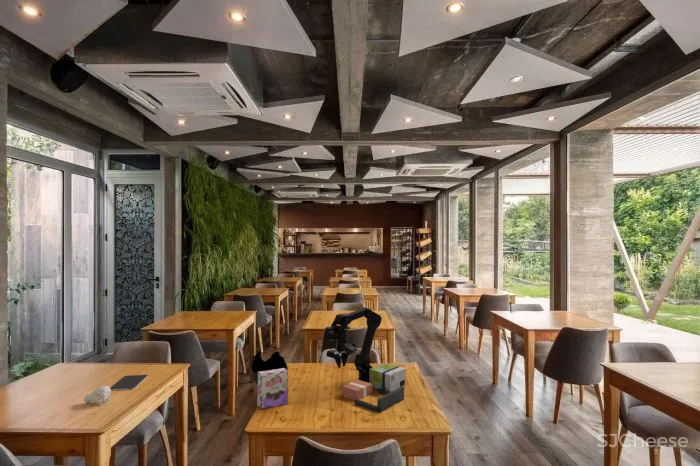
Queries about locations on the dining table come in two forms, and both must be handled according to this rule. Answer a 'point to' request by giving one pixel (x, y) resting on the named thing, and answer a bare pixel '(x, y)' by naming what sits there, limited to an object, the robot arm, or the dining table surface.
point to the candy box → (272, 388)
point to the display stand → (383, 400)
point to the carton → (357, 390)
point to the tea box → (387, 377)
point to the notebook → (128, 382)
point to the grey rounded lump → (98, 395)
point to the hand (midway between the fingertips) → (341, 367)
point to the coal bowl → (266, 364)
